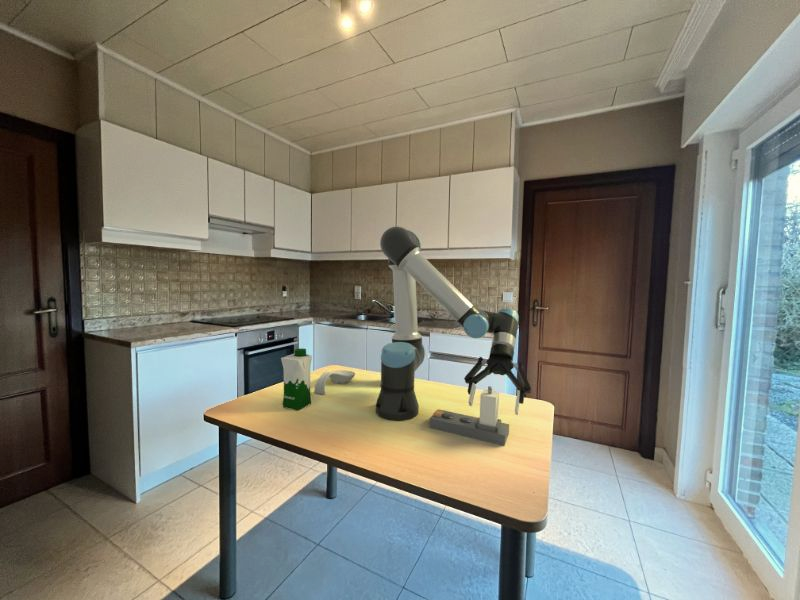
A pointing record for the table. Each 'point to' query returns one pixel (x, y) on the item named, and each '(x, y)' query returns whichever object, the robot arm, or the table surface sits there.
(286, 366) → the milk carton
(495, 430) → the power strip
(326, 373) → the grey ladle
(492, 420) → the white block with knob
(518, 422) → the table surface
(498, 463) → the table surface
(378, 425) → the table surface
